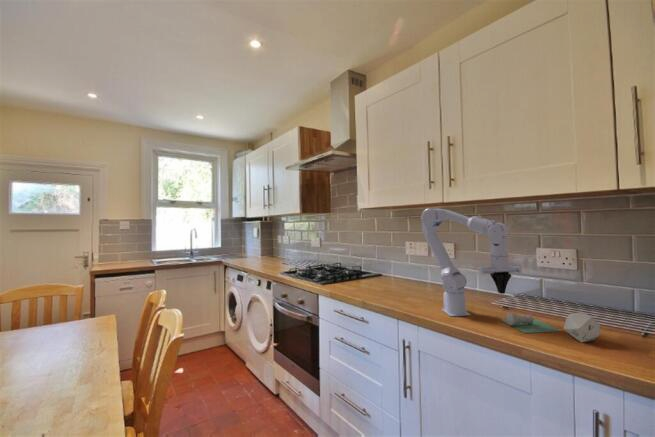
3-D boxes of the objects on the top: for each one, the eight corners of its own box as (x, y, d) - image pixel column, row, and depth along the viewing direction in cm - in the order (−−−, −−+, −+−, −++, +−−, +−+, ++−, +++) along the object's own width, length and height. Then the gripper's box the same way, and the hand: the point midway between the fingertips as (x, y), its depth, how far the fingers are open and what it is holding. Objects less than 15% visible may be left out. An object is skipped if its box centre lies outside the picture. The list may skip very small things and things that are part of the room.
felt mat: (500, 319, 113) (500, 319, 113) (532, 318, 113) (532, 317, 113) (524, 333, 99) (524, 332, 99) (561, 331, 99) (561, 330, 99)
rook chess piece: (506, 310, 107) (528, 310, 108) (504, 321, 108) (525, 321, 109) (514, 316, 103) (537, 317, 103) (512, 328, 104) (534, 328, 104)
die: (561, 342, 92) (579, 322, 87) (555, 320, 99) (572, 301, 93) (591, 353, 90) (612, 334, 85) (583, 330, 97) (602, 311, 91)
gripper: (485, 258, 107) (487, 296, 107) (526, 255, 107) (528, 294, 107) (475, 255, 114) (477, 292, 114) (513, 253, 114) (516, 290, 114)
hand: (501, 292), depth 111 cm, fingers closed
